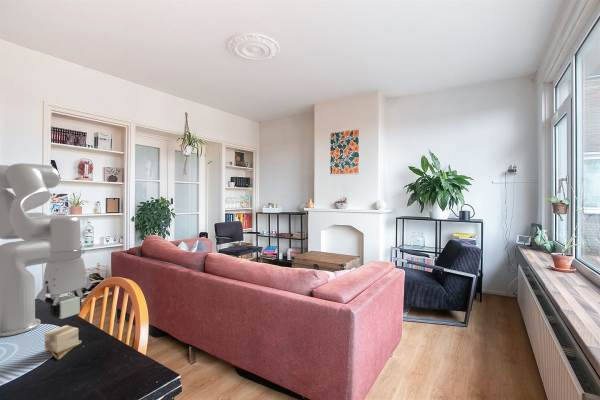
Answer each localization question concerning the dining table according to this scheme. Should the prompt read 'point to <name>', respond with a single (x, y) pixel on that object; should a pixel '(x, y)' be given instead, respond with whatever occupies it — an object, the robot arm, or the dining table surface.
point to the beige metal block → (61, 338)
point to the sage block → (69, 306)
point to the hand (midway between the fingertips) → (66, 312)
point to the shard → (64, 351)
